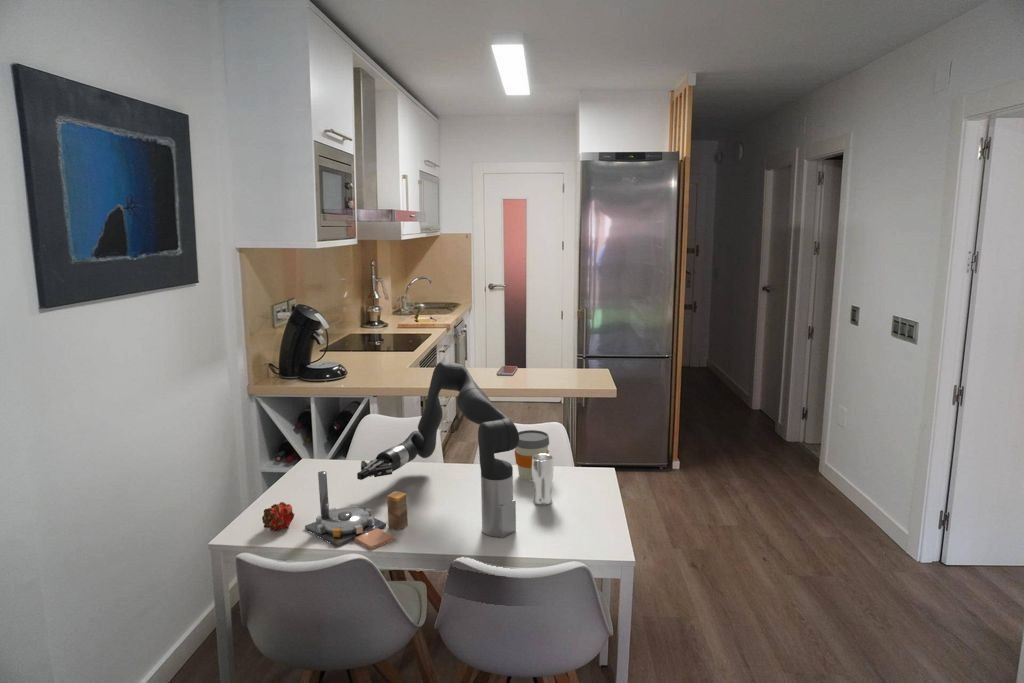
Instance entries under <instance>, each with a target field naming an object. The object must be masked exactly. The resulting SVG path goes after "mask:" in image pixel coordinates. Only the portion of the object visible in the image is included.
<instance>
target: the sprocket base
mask: <svg viewBox="0 0 1024 683" xmlns="http://www.w3.org/2000/svg"><path fill="white" fill-rule="evenodd" d="M374 522H375V523H374V524H373V526H367V527H365V528H364V529H363V532H362V533H359V534H355V533H350V534H343V535H341V537H333V534H329V533H326V532H325V533H322V534H320V533H319V532H317V525H316V521H314V522H312V523H308V524H306V525H304V529H305V530H306V531H308V532H309V531H310V532H309V533H311V532H312V533H311V534H313V533H314V534H313V535H314V536H316V537H318V536H319V537H318V538H320V537H321V538H320V539H322V538H323V539H322V540H323V541H325V540H326V542H327V541H328V542H327V543H329V542H330V543H329V544H331V545H332V544H333V545H332V546H334V545H335V547H337V548H339V547H341V546H343V545H345V544H348V543H351V542H354V541H355V537H357V536H360V535H362V534H364V533H367V532H369V531H372V530H374V529H376V528H378V529H380V530H382V529H384V528H386V527H387V523H386V522H384V521H382V520H380V519H378V518H376V517H374ZM381 528H382V529H381Z"/></svg>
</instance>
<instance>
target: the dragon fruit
mask: <svg viewBox="0 0 1024 683" xmlns="http://www.w3.org/2000/svg"><path fill="white" fill-rule="evenodd" d="M294 518H295V513H294V512H293V507H292V505H291V504H290V503H287V504H286V503H285V502H283V501H281V502H280V503H278V504H276V503H275V504H273V505H271V506H270V507H268V508H265V509H264V510H263V515H262V517H261V519H262V520H261V521H262V524H263V528H264V529H269V531H271V532H276V531H277V532H278V531H280V529H282V530H288V529H289V526H290V524H291V523H292V522H293V520H294Z"/></svg>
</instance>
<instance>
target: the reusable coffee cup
mask: <svg viewBox="0 0 1024 683" xmlns="http://www.w3.org/2000/svg"><path fill="white" fill-rule="evenodd" d="M518 434H519V443H518V446H517V447H516V448H515V449H514V451H513V452H514V458H515V465H517V471H518V477H519V478H520V480H523V481H528V482H533V478H532V457H533V456H534V455H537V454H548V455H549V452H550V451H549V444H550V437H549V434H548V432H545V431H542V430H536V429H535V430H532V429H528V430H520V431H518Z"/></svg>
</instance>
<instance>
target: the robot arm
mask: <svg viewBox="0 0 1024 683" xmlns="http://www.w3.org/2000/svg"><path fill="white" fill-rule="evenodd" d="M441 390H445V391H447V390H448V391H455V392H459V393H458V395H457V399H456V403H457V407H458V409H459V410H460V412H461V413H462V415H463V416H464V417H465V419H467V420H469V421H470V422H472V423H475V424H476V425H479V426H478V429H477V430H478V431H477V441H478V453H479V456H478V457H479V458H478V459H479V466H480V487H481V488H480V494H481V497H480V498H481V503H480V504H481V530H482V532H483V533H484V534H485V535H487V536H488V537H489V536H490V537H495V538H496V537H497V538H502V539H503V538H505V537H506V536H509V535H510V534H512V533H515V532H516V531H517V515H516V513H517V508H516V506H517V505H516V500H515V499H514V489H513V488H514V484H513V483H514V482H513V481H514V480H513V479H514V476H513V473H514V470H513V468H514V467H513V464H512V463H510V461H507V460H503V459H499V458H495V454H499V453H505V452H510V451H513V450H515V448H516V447H517V446H518V443H519V434H518V432H519V431H518V429H517V426H516V425H515V423H514V422H513V421H512V419H511V418H510V417H508V416H507V415H506V414H504V413H503V412H502V411H501V410H500V409H499V408H498V407H497V406H496V405H495V403H493V402H492V400H491V399H490V397H488V396H487V394H486V393H485V392H484V391H483V390H482V389H481V388H480V386H478V384H477V383H476V382H475V380H474V379H473V377H472V375H471V374H470V372H469V370H468V368H467V367H466V366H465V365H463V364H461V363H456V362H455V363H454V362H448V361H440V362H438V363H437V364H436V365H435V366H434V368H433V371H432V375H431V379H430V383H429V387H428V392H427V398H426V402H425V405H424V408H423V412H422V415H421V417H420V419H419V422H418V425H417V430H413V431H412V432H411V433H410V434H409V436H408V437H406V439H405V440H404V441H403V442H401V443H399V444H397V445H394V446H391V447H389V448H388V449H385V450H384V451H381V452H380V453H378V454H377V455H376V458H375V459H373V460H369V462H366V461H365V460H362V461H361V462H360V471H359V472H357V473H356V476H357V477H356V478H357V480H360V481H363V480H364V479H367V478H369V477H370V478H371V477H374V478H377V477H378V478H379V477H384V476H390V475H392V474H393V472H395V471H397V470H399V469H400V468H402V467H404V466H405V465H406V464H408V463H409V462H411V461H413V460H414V459H415V458H417V456H419V457H420V458H422V459H427V458H430V457H431V456H432V455H433V454H434V452H435V449H436V446H437V435H438V434H437V433H438V430H439V427H440V425H441V423H442V420H443V413H444V412H443V408H442V404H441V402H440V397H439V395H440V392H441Z"/></svg>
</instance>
